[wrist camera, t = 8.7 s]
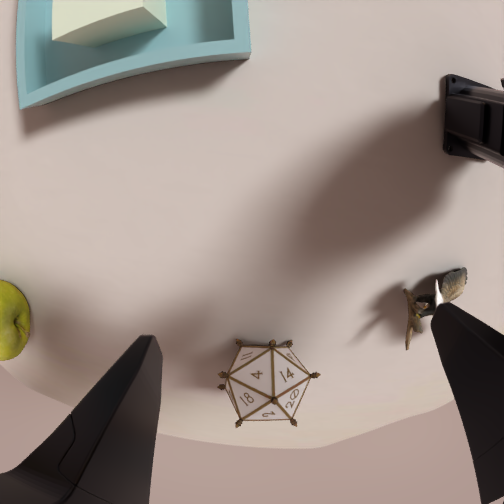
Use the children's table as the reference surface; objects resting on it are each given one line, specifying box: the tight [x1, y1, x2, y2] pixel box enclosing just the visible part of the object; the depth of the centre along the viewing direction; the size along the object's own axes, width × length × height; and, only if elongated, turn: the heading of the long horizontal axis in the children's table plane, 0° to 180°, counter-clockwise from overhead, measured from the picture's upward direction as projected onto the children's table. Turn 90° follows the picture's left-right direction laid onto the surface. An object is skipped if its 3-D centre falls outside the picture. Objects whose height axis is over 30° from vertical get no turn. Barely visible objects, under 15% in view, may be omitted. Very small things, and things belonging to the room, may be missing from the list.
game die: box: [218, 339, 321, 428], centre depth 24 cm, size 9×8×10 cm
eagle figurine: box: [404, 267, 467, 350], centre depth 23 cm, size 8×7×9 cm
